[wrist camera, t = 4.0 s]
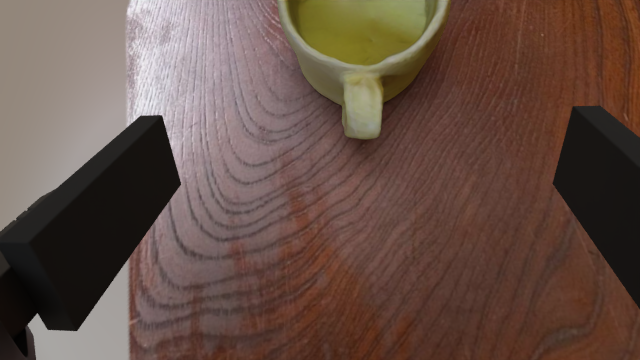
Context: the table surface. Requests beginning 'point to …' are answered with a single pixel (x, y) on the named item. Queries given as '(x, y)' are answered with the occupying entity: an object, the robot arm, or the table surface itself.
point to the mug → (362, 50)
